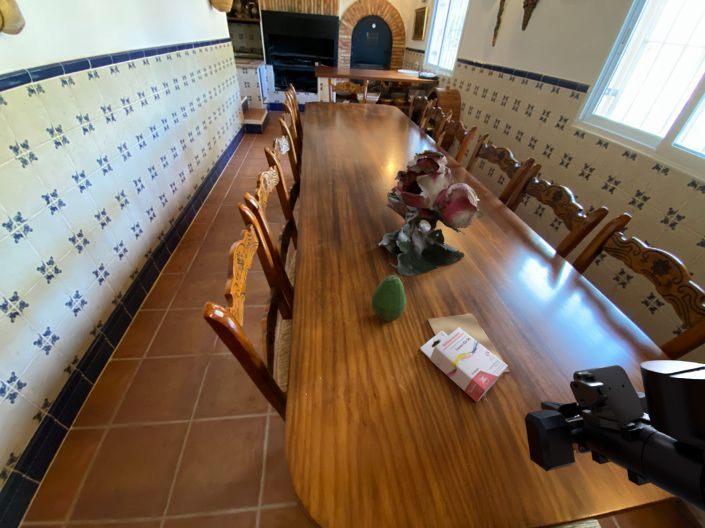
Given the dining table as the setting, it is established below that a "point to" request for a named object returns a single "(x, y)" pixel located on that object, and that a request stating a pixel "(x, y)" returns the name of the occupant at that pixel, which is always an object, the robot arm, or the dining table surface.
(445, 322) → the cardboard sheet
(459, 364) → the ink cartridge box
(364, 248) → the dining table surface
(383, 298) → the avocado
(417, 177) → the rose bouquet
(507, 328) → the dining table surface
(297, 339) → the dining table surface
